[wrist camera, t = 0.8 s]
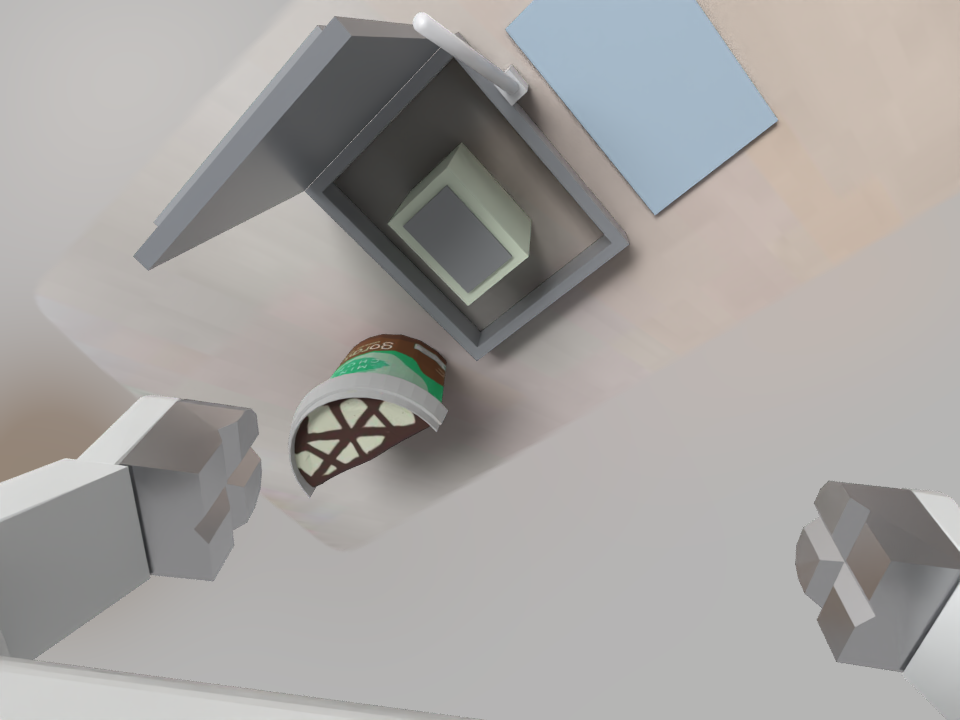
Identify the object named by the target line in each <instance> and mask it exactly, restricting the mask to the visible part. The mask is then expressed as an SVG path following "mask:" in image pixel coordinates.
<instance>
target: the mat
mask: <svg viewBox="0 0 960 720" xmlns="http://www.w3.org/2000/svg"><path fill="white" fill-rule="evenodd" d="M505 30H506V31H507V32H508V34H509V35H510V36H511V37H512V39H513V40H514V41H515V42H516V44H517V45H518V46H519V47H520V49H521V50H522V51H523V52H524V54H525V55H526V56H527V57H528V58H529V60H530V61H531V62H532V63H533V65H534V66H535V67H536V68H537V70H538V71H539V72H540V73H541V75H542V76H543V77H544V78H545V80H546V81H547V82H548V83H549V85H550V86H551V87H552V88H553V89H554V91H555V92H556V93H557V94H558V96H559V97H560V98H561V99H562V101H563V102H564V103H565V104H566V106H567V107H568V108H569V109H570V111H571V112H572V113H573V114H574V116H575V117H576V118H577V119H578V120H579V122H580V123H581V124H582V125H583V127H584V128H585V129H586V130H587V132H588V133H589V134H590V135H591V137H592V138H593V139H594V140H595V142H596V143H597V144H598V145H599V147H600V148H601V149H602V150H603V151H604V153H605V154H606V155H607V156H608V158H609V159H610V160H611V161H612V163H613V164H614V165H615V166H616V168H617V169H618V170H619V171H620V173H621V174H622V175H623V176H624V178H625V179H626V180H627V181H628V182H629V184H630V185H631V186H632V187H633V189H634V190H635V191H636V192H637V194H638V195H639V196H640V197H641V199H642V200H643V201H644V202H645V204H646V205H647V206H648V207H649V209H650V210H651V211H652V212H653V213H654V215H656V214H657V213H659V212H660V211H661V210H663V209H664V208H665V207H666V206H668V205H669V204H670V203H672V202H673V201H674V200H676V199H677V198H678V197H679V196H681V195H682V194H683V193H685V192H686V191H687V190H688V189H690V188H691V187H692V186H694V185H695V184H696V183H698V182H699V181H700V180H701V179H703V178H704V177H705V176H707V175H708V174H709V173H711V172H712V171H713V170H714V169H716V168H717V167H718V166H720V165H721V164H722V163H723V162H725V161H726V160H727V159H729V158H730V157H731V156H733V155H734V154H735V153H736V152H738V151H739V150H740V149H742V148H743V147H744V146H746V145H747V144H748V143H749V142H751V141H752V140H753V139H755V138H756V137H757V136H758V135H760V134H761V133H762V132H764V131H765V130H766V129H768V128H769V127H770V126H771V125H773V124H774V123H775V122H777V121H778V119H777V118H776V116H775V115H774V114H773V112H772V111H771V109H770V108H769V106H768V105H767V103H766V102H765V100H764V99H763V98H762V96H761V95H760V93H759V92H758V90H757V89H756V87H755V86H754V84H753V83H752V82H751V80H750V79H749V77H748V76H747V74H746V73H745V71H744V70H743V68H742V67H741V66H740V64H739V63H738V61H737V60H736V58H735V57H734V55H733V54H732V52H731V51H730V49H729V48H728V47H727V45H726V44H725V42H724V41H723V39H722V38H721V36H720V35H719V33H718V32H717V31H716V29H715V28H714V26H713V25H712V23H711V22H710V20H709V19H708V17H707V16H706V15H705V13H704V12H703V10H702V9H701V7H700V6H699V4H698V3H697V1H696V0H534V1H533V2H532V3H531V4H530V5H529V6H528V7H527V8H526V9H525V10H524V11H523V12H522V13H521V14H520V15H519V16H518V17H517V18H516V19H515V20H514V21H513V22H512V23H511V24H510V25H509V26H508V27H507V28H506V29H505Z"/></svg>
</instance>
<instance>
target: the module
mask: <svg viewBox="0 0 960 720" xmlns="http://www.w3.org/2000/svg"><path fill="white" fill-rule="evenodd" d="M531 223H532V220H531V219H530V218H529V217H528V216H527V215H526V214H525V213H524V211H523V210H522V209H521V208H520V207H519V206H518V205H517V204H516V202H515V201H514V200H513V199H512V198H511V197H510V196H509V195H508V193H507V192H506V191H505V190H504V189H503V188H502V187H501V186H500V184H499V183H498V182H497V181H496V180H495V179H494V178H493V177H492V175H491V174H490V173H489V172H488V171H487V170H486V169H485V168H484V166H483V165H482V164H481V163H480V162H479V161H478V160H477V159H476V157H475V156H474V155H473V154H472V153H471V152H470V151H469V149H468V148H467V147H466V146H465V145H464V144H463V143H462V142H461V143H460V144H459V145H458V146H457V147H456V148H455V149H454V150H453V151H452V152H451V153H450V154H449V155H448V156H447V157H446V158H445V159H444V160H443V161H442V162H441V163H440V164H439V165H437V166H436V167H435V168H434V169H433V170H432V171H431V172H430V173H429V174H428V175H427V176H426V177H425V178H424V179H423V180H422V181H421V182H420V183H419V184H418V185H417V186H416V187H415V188H413V189H412V190H411V191H410V192H409V194H408V195H407V197H406V198H405V199H404V201H403V202H402V204H401V205H400V207H399V208H398V209H397V211H396V212H395V214H394V215H393V217H392V218H391V220H390V221H389V222H388V225H389V226H390V227H391V228H392V229H393V230H394V231H395V232H396V233H397V234H398V235H399V236H400V237H401V238H402V239H403V240H404V241H405V242H406V243H407V244H408V245H409V247H410V248H411V249H412V250H413V251H414V252H415V253H416V254H417V255H418V256H419V257H420V258H421V259H422V260H423V261H424V262H425V263H426V264H427V265H428V266H429V267H430V268H431V269H432V270H433V271H434V272H435V273H436V274H437V275H438V276H439V277H440V278H441V279H442V280H443V281H444V282H445V283H446V284H447V285H448V286H449V287H450V288H451V289H452V290H453V291H454V292H455V293H456V294H457V295H458V296H459V297H460V298H461V299H462V300H463V301H464V303H465V304H466V305H467V306H469V305H470V304H471V303H472V302H474V301H475V300H476V299H477V298H479V297H480V296H481V295H482V294H483V293H485V292H486V291H487V290H488V289H490V288H491V287H492V286H493V285H494V284H496V283H497V282H498V281H499V280H501V279H502V278H503V277H504V276H506V275H507V274H508V273H509V272H510V271H512V270H513V269H514V268H515V267H517V266H518V265H519V264H520V263H521V262H523V261H524V260H525V259H526V258H528V257H529V248H530V236H531Z"/></svg>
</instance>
